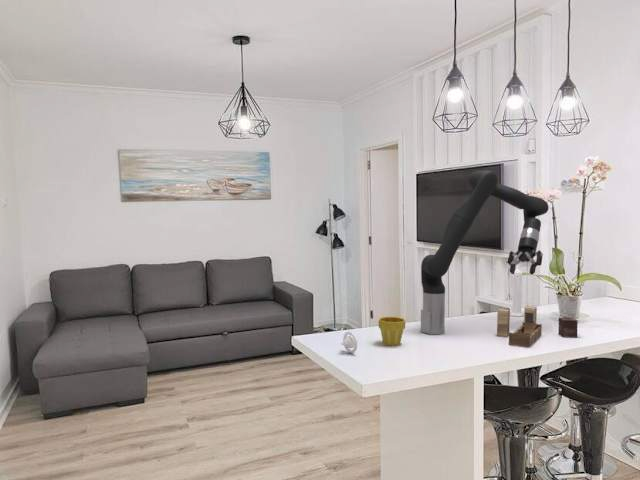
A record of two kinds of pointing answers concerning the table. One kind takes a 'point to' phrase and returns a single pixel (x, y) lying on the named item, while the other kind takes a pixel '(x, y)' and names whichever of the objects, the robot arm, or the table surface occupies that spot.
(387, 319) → the plant pot
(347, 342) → the ring around a ball
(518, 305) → the candle
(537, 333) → the rail
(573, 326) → the box
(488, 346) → the table surface
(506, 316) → the block
